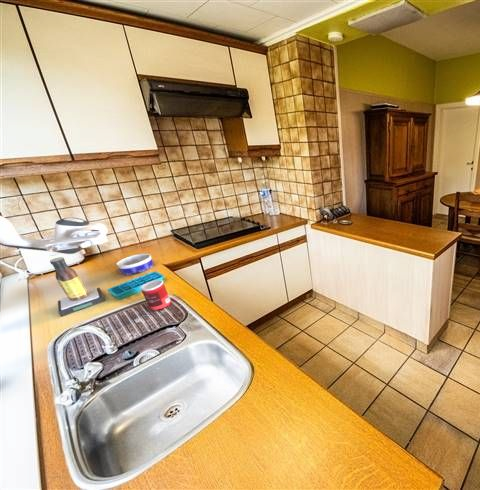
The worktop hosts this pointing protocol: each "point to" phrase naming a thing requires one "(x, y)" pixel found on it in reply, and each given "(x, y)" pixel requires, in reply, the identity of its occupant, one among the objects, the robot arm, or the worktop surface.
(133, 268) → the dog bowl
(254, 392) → the worktop surface
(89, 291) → the scale
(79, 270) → the worktop surface
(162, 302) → the canned food
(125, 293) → the ice cube tray
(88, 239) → the robot arm
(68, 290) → the sauce bottle
